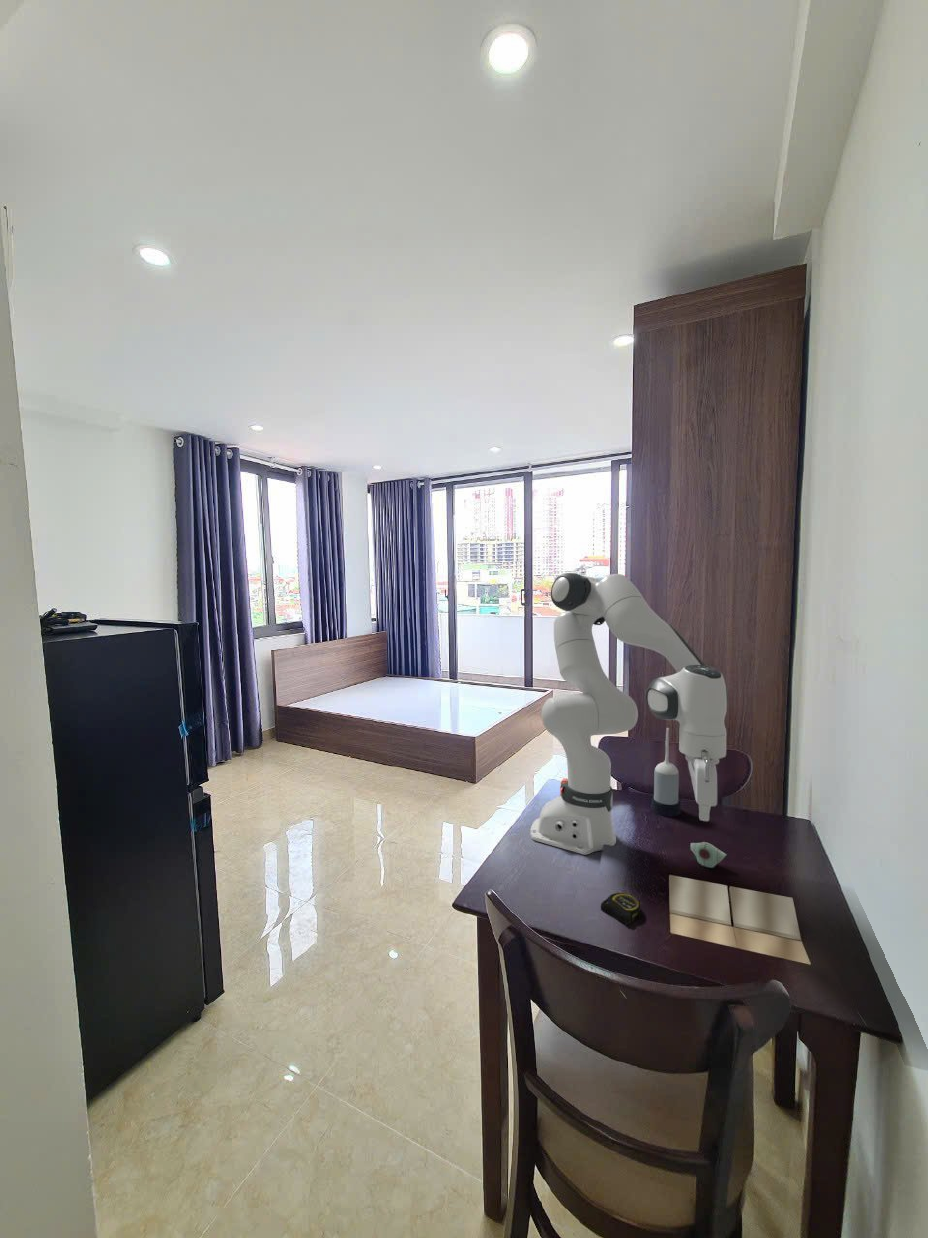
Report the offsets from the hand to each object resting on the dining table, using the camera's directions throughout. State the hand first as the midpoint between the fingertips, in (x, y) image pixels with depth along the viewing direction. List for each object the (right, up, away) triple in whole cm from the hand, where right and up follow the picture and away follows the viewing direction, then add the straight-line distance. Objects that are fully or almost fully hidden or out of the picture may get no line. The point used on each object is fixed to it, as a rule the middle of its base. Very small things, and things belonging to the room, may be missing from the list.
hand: (701, 810), depth 104 cm
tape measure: (-18, -21, -4) cm, 28 cm away
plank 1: (-1, -18, -2) cm, 19 cm away
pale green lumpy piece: (+8, -20, +14) cm, 25 cm away
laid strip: (+1, -21, -11) cm, 24 cm away
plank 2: (+9, -19, -6) cm, 22 cm away
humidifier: (+11, -18, +46) cm, 50 cm away
